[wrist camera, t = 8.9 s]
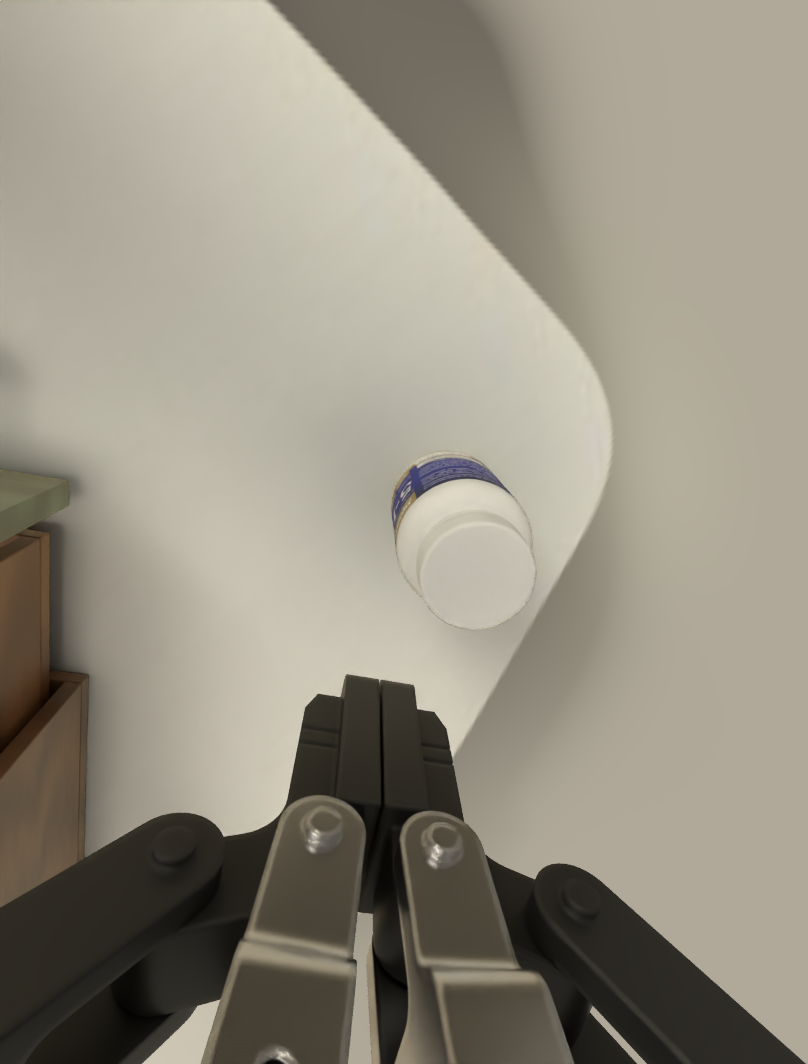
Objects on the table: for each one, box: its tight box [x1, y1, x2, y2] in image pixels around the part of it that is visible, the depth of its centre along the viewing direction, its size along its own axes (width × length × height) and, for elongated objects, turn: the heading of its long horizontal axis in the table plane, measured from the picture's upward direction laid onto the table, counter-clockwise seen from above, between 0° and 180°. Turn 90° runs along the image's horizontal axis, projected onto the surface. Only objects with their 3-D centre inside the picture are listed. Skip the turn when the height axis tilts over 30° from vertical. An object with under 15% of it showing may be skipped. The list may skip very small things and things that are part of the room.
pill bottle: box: [391, 451, 536, 630], centre depth 23 cm, size 5×5×9 cm
